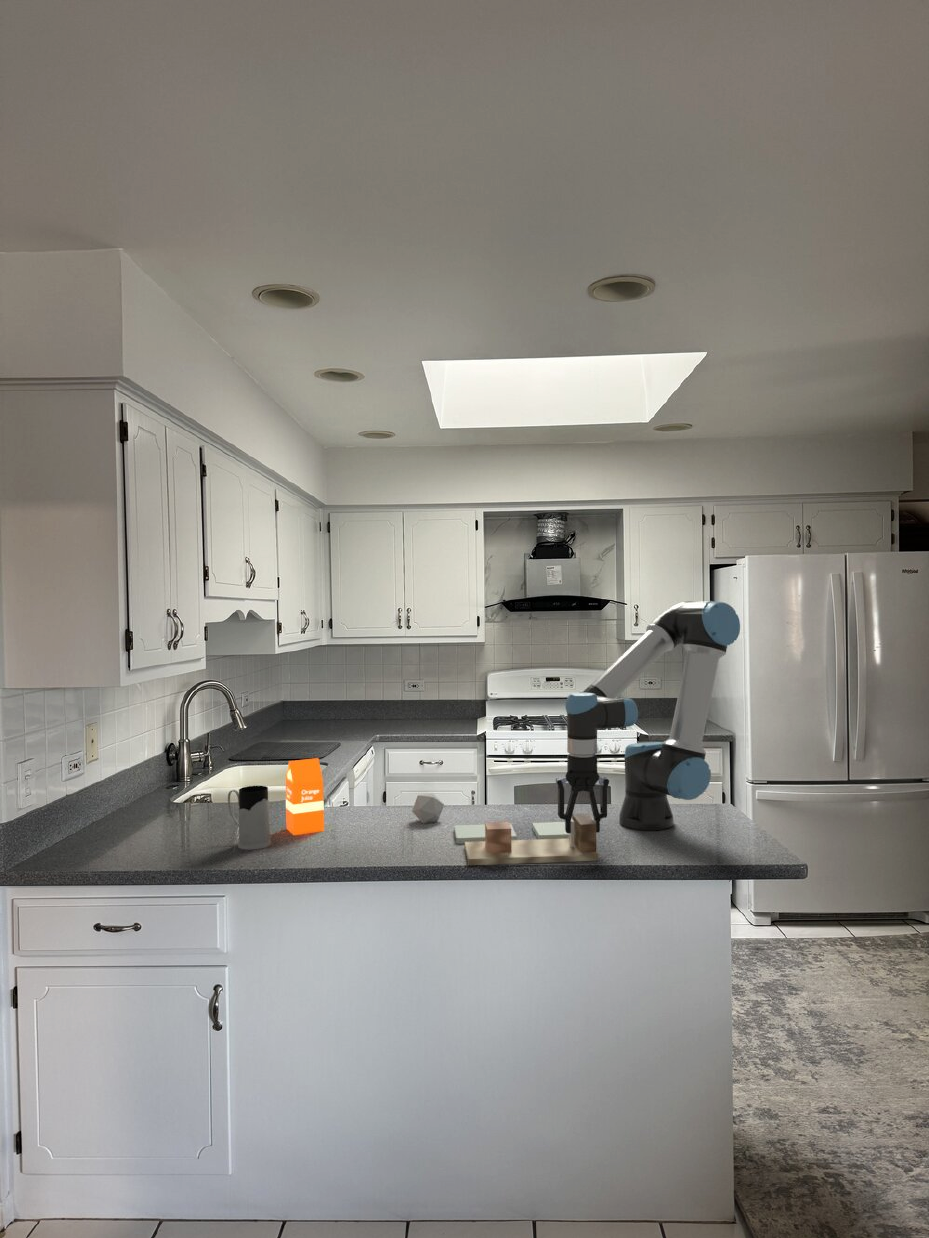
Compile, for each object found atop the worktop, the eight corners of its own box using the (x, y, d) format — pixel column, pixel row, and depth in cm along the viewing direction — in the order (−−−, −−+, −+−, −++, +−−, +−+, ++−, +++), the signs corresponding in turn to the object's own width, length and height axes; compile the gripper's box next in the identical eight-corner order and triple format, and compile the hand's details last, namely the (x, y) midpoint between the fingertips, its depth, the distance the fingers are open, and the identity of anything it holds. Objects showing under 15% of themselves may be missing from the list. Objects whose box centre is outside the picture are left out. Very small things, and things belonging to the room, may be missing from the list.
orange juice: (286, 828, 233) (284, 758, 233) (316, 824, 237) (314, 755, 237) (293, 835, 226) (292, 763, 226) (324, 830, 230) (323, 760, 230)
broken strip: (567, 826, 231) (567, 821, 231) (576, 839, 219) (575, 833, 219) (454, 830, 229) (454, 825, 229) (456, 843, 217) (456, 838, 217)
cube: (508, 845, 210) (508, 821, 209) (511, 852, 204) (511, 828, 203) (485, 845, 209) (484, 822, 209) (487, 853, 203) (487, 829, 203)
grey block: (434, 817, 245) (415, 792, 245) (453, 807, 240) (433, 782, 240) (422, 834, 238) (401, 808, 238) (441, 823, 234) (420, 797, 233)
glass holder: (253, 851, 212) (252, 794, 212) (216, 843, 220) (215, 787, 220) (278, 842, 220) (277, 787, 219) (241, 835, 227) (240, 781, 227)
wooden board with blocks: (586, 843, 215) (585, 811, 215) (598, 860, 201) (598, 826, 201) (464, 847, 213) (464, 815, 213) (468, 865, 199) (468, 830, 199)
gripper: (613, 750, 212) (613, 839, 212) (544, 752, 210) (545, 841, 211) (620, 756, 204) (620, 848, 205) (549, 757, 203) (550, 850, 203)
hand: (582, 845), depth 208 cm, fingers closed on wooden board with blocks, 5 cm apart
